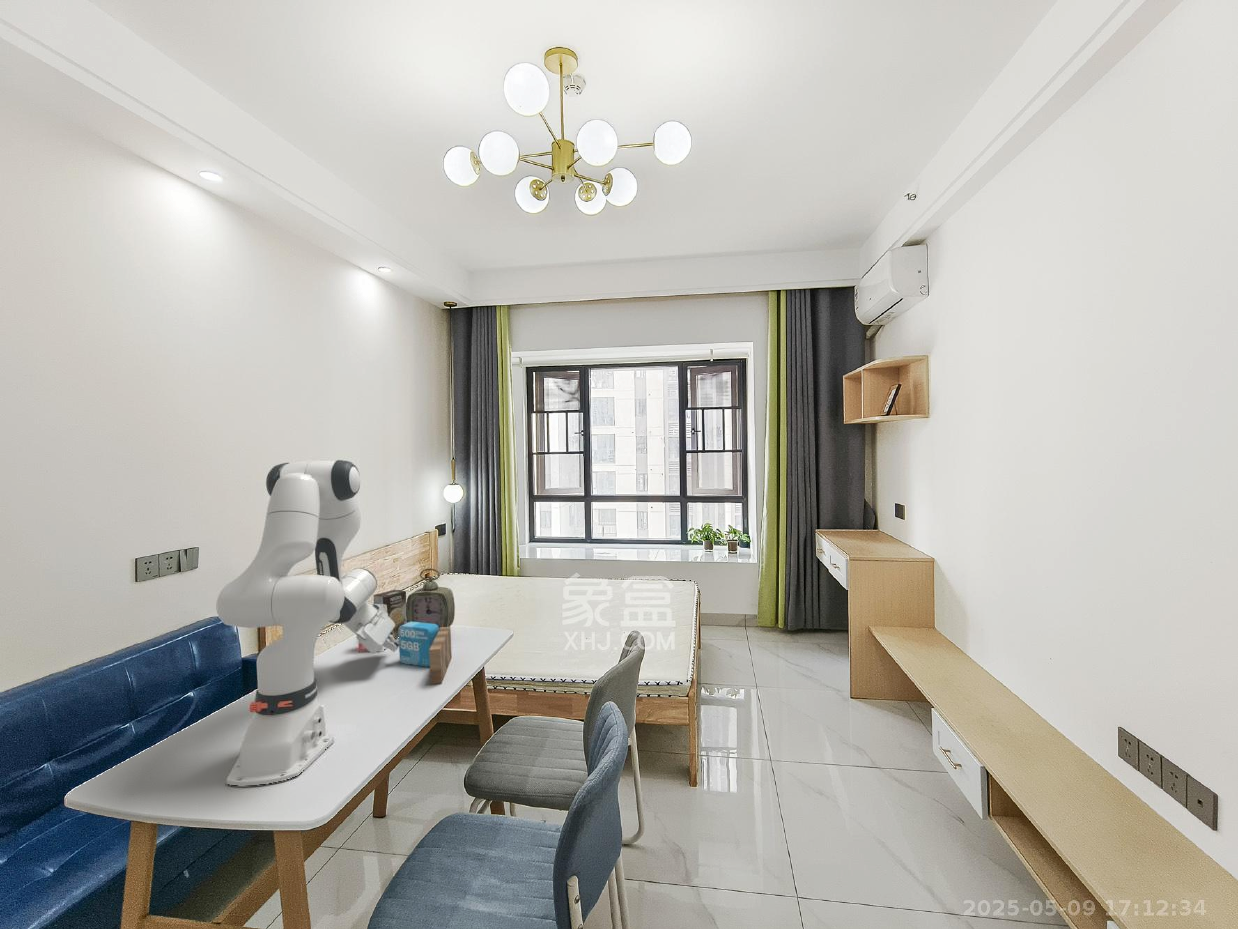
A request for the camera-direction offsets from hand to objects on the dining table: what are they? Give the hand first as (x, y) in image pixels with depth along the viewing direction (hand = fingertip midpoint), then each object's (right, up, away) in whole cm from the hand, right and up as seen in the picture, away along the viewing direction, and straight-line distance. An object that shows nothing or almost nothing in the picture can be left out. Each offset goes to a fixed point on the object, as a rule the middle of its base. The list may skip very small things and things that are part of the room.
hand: (396, 648), depth 179 cm
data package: (+7, -5, +1) cm, 8 cm away
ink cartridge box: (-13, -5, +14) cm, 19 cm away
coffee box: (-12, -4, +25) cm, 28 cm away
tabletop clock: (+4, -4, +22) cm, 23 cm away
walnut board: (+16, -5, -6) cm, 17 cm away
